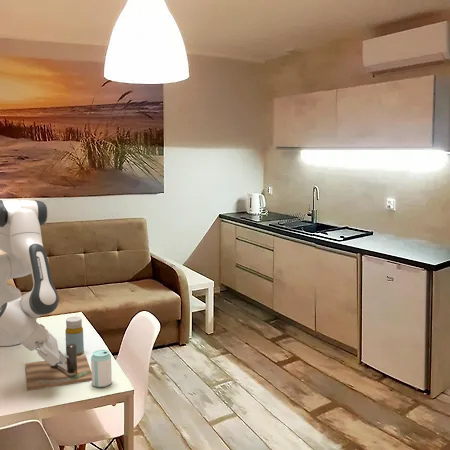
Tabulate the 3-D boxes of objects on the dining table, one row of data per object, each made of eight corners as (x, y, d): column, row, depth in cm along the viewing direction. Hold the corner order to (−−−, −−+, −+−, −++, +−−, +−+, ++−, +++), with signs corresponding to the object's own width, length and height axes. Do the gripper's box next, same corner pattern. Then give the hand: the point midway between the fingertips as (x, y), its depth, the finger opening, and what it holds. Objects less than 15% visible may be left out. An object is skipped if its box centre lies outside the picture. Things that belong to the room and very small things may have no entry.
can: (99, 378, 194) (98, 347, 192) (115, 381, 192) (114, 350, 190) (88, 386, 188) (86, 354, 186) (104, 389, 185) (103, 357, 183)
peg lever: (48, 364, 201) (47, 336, 200) (60, 361, 205) (59, 333, 203) (71, 380, 188) (70, 350, 187) (83, 376, 192) (82, 346, 190)
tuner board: (25, 366, 204) (25, 362, 204) (85, 357, 212) (85, 354, 212) (27, 390, 184) (26, 387, 183) (93, 380, 192) (93, 376, 192)
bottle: (78, 357, 212) (77, 322, 210) (63, 356, 214) (61, 321, 212) (86, 351, 219) (85, 317, 217) (71, 349, 221) (70, 315, 218)
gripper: (43, 341, 176) (74, 364, 181) (41, 322, 195) (68, 344, 200) (29, 355, 175) (61, 378, 180) (28, 335, 194) (57, 356, 199)
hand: (65, 360), depth 190 cm, fingers closed
